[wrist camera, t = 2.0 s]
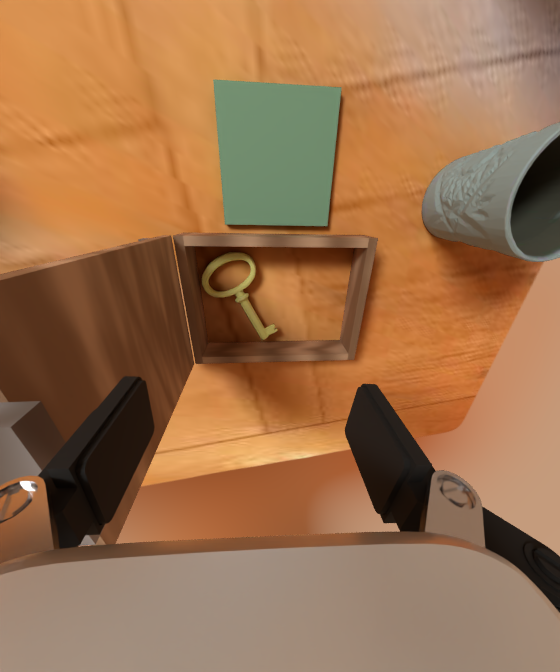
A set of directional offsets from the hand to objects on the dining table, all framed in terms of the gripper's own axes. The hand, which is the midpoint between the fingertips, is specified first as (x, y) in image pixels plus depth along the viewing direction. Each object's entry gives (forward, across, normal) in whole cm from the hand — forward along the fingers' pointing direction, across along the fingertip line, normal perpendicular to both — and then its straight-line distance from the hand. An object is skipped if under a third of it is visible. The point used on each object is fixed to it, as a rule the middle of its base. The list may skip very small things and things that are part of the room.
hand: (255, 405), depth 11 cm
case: (+23, -3, +2) cm, 23 cm away
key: (+24, -3, +3) cm, 24 cm away
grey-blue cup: (+23, -24, -12) cm, 35 cm away
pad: (+23, -1, -13) cm, 26 cm away
